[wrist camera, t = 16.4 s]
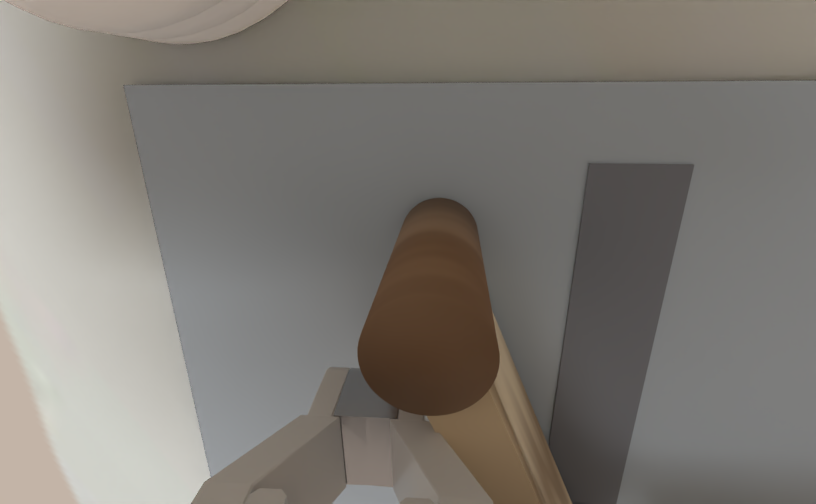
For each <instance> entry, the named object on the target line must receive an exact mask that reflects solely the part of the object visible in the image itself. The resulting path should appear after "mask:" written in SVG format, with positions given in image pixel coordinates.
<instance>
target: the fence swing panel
mask: <svg viewBox="0 0 816 504" xmlns="http://www.w3.org/2000/svg"><path fill="white" fill-rule="evenodd" d="M357 356H358V363H359V367H360V370H361V373H362V375H363V377H364V379H365V381H366V382H367V384H368V385H369V387H370V388H371V389H372V390H373V391H374V392H375V393H376V394H377V395H378V396H379V397H380V398H381V399H383V400H384V401H385V402H387V403H388V404H390V405H392V406H393V407H396V408H398V409H400V410H402V411H405V412H408V413H412V414H417V415H424V416H427V418H428V420H429V421H430V423H431V425H432V427H433V429H434V431H435V432H436V433H440V434H441V435H442V436H443V437H444V439H445V440H446V441H447V443H448V444H449V445H450V446H451V448H452V449H453V450H454V452H455V453H456V454H457V455H458V457H459V458H460V459H461V461H462V462H463V463H464V465H465V466H466V467H467V468H468V470H469V471H470V472H471V474H472V475H473V476H474V477H475V479H476V480H477V481H478V483H479V484H480V485H481V486H482V488H483V489H484V490H485V492H486V493H487V494H488V496H489V497H490V498H491V499H492V501H493V504H572V502H571V499H570V497H569V494H568V492H567V489H566V487H565V485H564V482H563V480H562V477H561V475H560V473H559V470H558V468H557V465H556V463H555V461H554V458H553V456H552V453H551V451H550V449H549V446H548V444H547V441H546V439H545V437H544V434H543V432H542V429H541V427H540V425H539V422H538V420H537V417H536V415H535V413H534V410H533V408H532V405H531V403H530V400H529V398H528V396H527V393H526V391H525V388H524V386H523V384H522V381H521V379H520V376H519V374H518V372H517V369H516V367H515V364H514V362H513V360H512V357H511V355H510V352H509V350H508V348H507V345H506V343H505V340H504V338H503V336H502V333H501V331H500V328H499V326H498V323H497V321H496V319H495V316H494V314H493V311H492V308H491V302H490V296H489V291H488V285H487V279H486V274H485V268H484V263H483V257H482V251H481V246H480V240H479V234H478V229H477V224H476V221H475V219H474V217H473V216H472V214H471V213H470V212H469V210H468V209H467V208H465V207H464V206H463V205H462V204H460V203H458V202H456V201H454V200H451V199H446V198H433V199H428V200H425V201H423V202H421V203H419V204H418V205H416V206H415V207H414V208H413V209H412V210H411V211H410V212H409V213H408V215H407V216H406V218H405V220H404V222H403V225H402V228H401V230H400V233H399V235H398V238H397V241H396V243H395V246H394V248H393V251H392V254H391V256H390V259H389V261H388V264H387V267H386V269H385V272H384V274H383V277H382V280H381V282H380V285H379V287H378V290H377V293H376V295H375V298H374V301H373V303H372V306H371V308H370V311H369V314H368V316H367V319H366V321H365V324H364V327H363V329H362V332H361V335H360V338H359V342H358V348H357Z"/></svg>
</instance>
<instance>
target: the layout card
mask: <svg viewBox="0 0 816 504" xmlns="http://www.w3.org/2000/svg"><path fill="white" fill-rule="evenodd" d="M124 89H125V94H126V98H127V103H128V107H129V112H130V116H131V121H132V125H133V130H134V134H135V139H136V143H137V148H138V152H139V157H140V161H141V166H142V170H143V175H144V179H145V184H146V188H147V193H148V197H149V202H150V206H151V211H152V215H153V220H154V224H155V229H156V233H157V238H158V242H159V247H160V251H161V256H162V260H163V265H164V269H165V274H166V278H167V283H168V287H169V292H170V296H171V300H172V305H173V309H174V314H175V318H176V323H177V327H178V332H179V336H180V341H181V345H182V350H183V354H184V359H185V363H186V368H187V372H188V377H189V381H190V386H191V390H192V395H193V399H194V404H195V408H196V413H197V417H198V422H199V426H200V431H201V435H202V440H203V444H204V449H205V453H206V458H207V462H208V467H209V471H210V476H211V477H212V476H214V475H215V474H217V473H218V472H220V471H221V470H222V469H224V468H225V467H227V466H228V465H230V464H231V463H233V462H234V461H235V460H237V459H238V458H240V457H241V456H243V455H244V454H245V453H247V452H248V451H250V450H251V449H253V448H254V447H255V446H257V445H258V444H260V443H261V442H263V441H264V440H265V439H267V438H268V437H270V436H271V435H273V434H274V433H276V432H277V431H278V430H280V429H281V428H283V427H284V426H286V425H287V424H288V423H290V422H291V421H293V420H294V419H296V418H297V417H298V416H300V415H307V414H308V412H309V409H310V407H311V405H312V402H313V400H314V398H315V395H316V393H317V391H318V388H319V386H320V384H321V381H322V379H323V377H324V374H325V372H326V370H327V369H328V368H329V367H345V368H360V367H359V363H358V356H357V348H358V342H359V338H360V335H361V332H362V329H363V327H364V324H365V321H366V319H367V316H368V314H369V311H370V308H371V306H372V303H373V301H374V298H375V295H376V293H377V290H378V287H379V285H380V282H381V280H382V277H383V274H384V272H385V269H386V267H387V264H388V261H389V259H390V256H391V254H392V251H393V248H394V246H395V243H396V241H397V238H398V235H399V233H400V230H401V228H402V225H403V222H404V220H405V218H406V216H407V215H408V213H409V212H410V211H411V210H412V209H413V208H414V207H415V206H416V205H418V204H419V203H421V202H423V201H425V200H428V199H433V198H446V199H451V200H454V201H456V202H458V203H460V204H462V205H463V206H464V207H465V208H467V209H468V210H469V212H470V213H471V214H472V216H473V217H474V219H475V221H476V224H477V229H478V234H479V240H480V246H481V251H482V257H483V263H484V268H485V274H486V279H487V285H488V291H489V296H490V302H491V308H492V311H493V314H494V316H495V319H496V321H497V323H498V326H499V328H500V331H501V333H502V336H503V338H504V340H505V343H506V345H507V348H508V350H509V352H510V355H511V357H512V360H513V362H514V364H515V367H516V369H517V372H518V374H519V376H520V379H521V381H522V384H523V386H524V388H525V391H526V393H527V396H528V398H529V400H530V403H531V405H532V408H533V410H534V413H535V415H536V417H537V420H538V422H539V425H540V427H541V429H542V432H543V434H544V437H545V439H546V441H547V444H548V446H549V449H550V451H551V453H552V456H553V458H554V461H555V463H556V465H557V468H558V470H559V473H560V475H561V477H562V480H563V482H564V485H565V487H566V489H567V492H568V494H569V497H570V499H571V502H572V504H816V80H796V81H648V82H499V83H350V84H201V85H124ZM428 421H429V420H428ZM332 504H399V501H398V498H397V496H396V494H395V492H394V490H393V487H383V486H372V485H346V488H345V489H344V490H343V491H342V493H341V494H340V495H339V496H338V497H337V498H336V499H335V501H334V502H333V503H332Z"/></svg>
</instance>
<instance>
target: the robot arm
mask: <svg viewBox="0 0 816 504" xmlns="http://www.w3.org/2000/svg"><path fill="white" fill-rule="evenodd" d="M346 485H372V486H383V487H393V490H394V492H395V494H396V496H397V498H398V501H399V504H493V501H492V499H491V498H490V497H489V496H488V494H487V493H486V492H485V490H484V489H483V488H482V486H481V485H480V484H479V483H478V481H477V480H476V479H475V477H474V476H473V475H472V474H471V472H470V471H469V470H468V468H467V467H466V466H465V465H464V463H463V462H462V461H461V459H460V458H459V457H458V455H457V454H456V453H455V452H454V450H453V449H452V448H451V446H450V445H449V444H448V443H447V441H446V440H445V439H444V437H443V436H442V435H441V434H440V433H436V432H435V431H434V429H433V427H432V425H431V423H430V421H428V418H427V416H424V415H417V414H412V413H408V412H405V411H402V410H400V409H398V408H396V407H393V406H392V405H390V404H388V403H387V402H385V401H384V400H383V399H381V398H380V397H379V396H378V395H377V394H376V393H375V392H374V391H373V390H372V389H371V388H370V387H369V385H368V384H367V382H366V381H365V379H364V377H363V375H362V373H361V370H360V368H345V367H329V368H328V369H327V370H326V372H325V374H324V377H323V379H322V381H321V384H320V386H319V388H318V391H317V393H316V395H315V398H314V400H313V402H312V405H311V407H310V409H309V412H308V414H307V415H300V416H298V417H297V418H296V419H294V420H293V421H291V422H290V423H288V424H287V425H286V426H284V427H283V428H281V429H280V430H278V431H277V432H276V433H274V434H273V435H271V436H270V437H268V438H267V439H265V440H264V441H263V442H261V443H260V444H258V445H257V446H255V447H254V448H253V449H251V450H250V451H248V452H247V453H245V454H244V455H243V456H241V457H240V458H238V459H237V460H235V461H234V462H233V463H231V464H230V465H228V466H227V467H225V468H224V469H222V470H221V471H220V472H218V473H217V474H215V475H214V476H212V477H211V478H210V479H208V480H207V481H205V482H204V483H203V485H202V487H201V488H200V490H199V492H198V493H197V495H196V496H195V498H194V500H193V501H192V503H191V504H332V503H333V502H334V501H335V499H336V498H337V497H338V496H339V495H340V494H341V493H342V491H343V490H344V489H345V488H346Z"/></svg>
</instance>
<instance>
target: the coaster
mask: <svg viewBox="0 0 816 504" xmlns="http://www.w3.org/2000/svg"><path fill="white" fill-rule="evenodd" d="M5 1H6V2H8V3H10V4H12V5H14V6H16V7H18V8H20V9H22V10H25V11H27V12H29V13H31V14H34V15H36V16H38V17H41V18H43V19H45V20H47V21H51V22H54V23H58V24H61V25H64V26H68V27H71V28H75V29H80V30H86V31H93V32H100V33H109V34H112V35H116V36H123V37H129V38H136V39H143V40H146V41H153V42H160V43H166V44H195V43H201V42H208V41H214V40H218V39H221V38H223V37H226V36H229V35H232V34H235V33H238V32H240V31H242V30H244V29H246V28H248V27H250V26H252V25H254V24H255V23H257V22H259V21H261V20H263V19H265V18H266V17H267V16H269V15H270V14H271V13H273V12H274V11H275V10H277V9H278V8H279V7H281V6H282V5H283V4H284V3H286V2H287V1H288V0H5Z"/></svg>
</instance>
